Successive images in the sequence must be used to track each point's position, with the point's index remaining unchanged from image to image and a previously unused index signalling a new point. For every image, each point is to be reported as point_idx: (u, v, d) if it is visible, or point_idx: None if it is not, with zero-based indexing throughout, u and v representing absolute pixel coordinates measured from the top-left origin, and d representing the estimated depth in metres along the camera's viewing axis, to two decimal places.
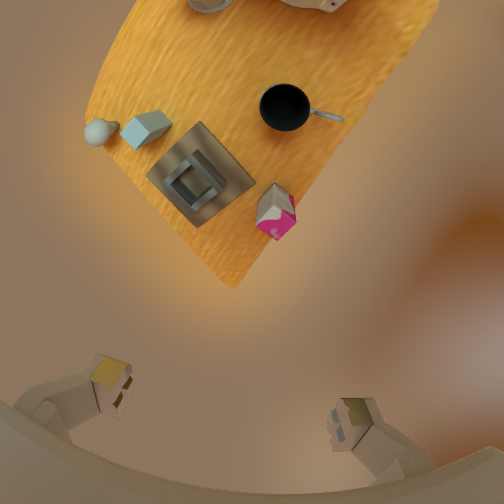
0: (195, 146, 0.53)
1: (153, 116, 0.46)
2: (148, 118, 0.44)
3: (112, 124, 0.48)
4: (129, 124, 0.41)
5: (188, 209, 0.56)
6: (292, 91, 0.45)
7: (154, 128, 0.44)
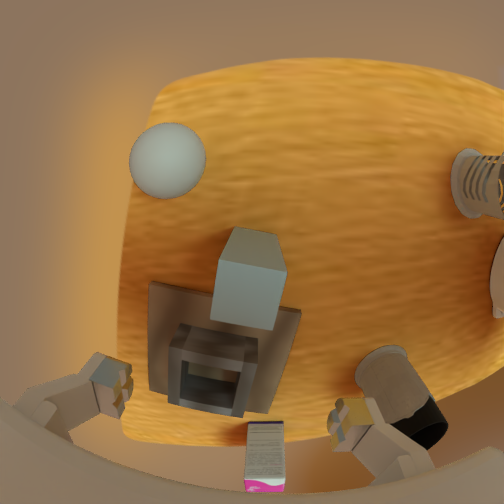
0: (259, 333, 0.31)
1: None
2: None
3: None
4: (260, 271, 0.18)
5: (172, 397, 0.29)
6: None
7: None
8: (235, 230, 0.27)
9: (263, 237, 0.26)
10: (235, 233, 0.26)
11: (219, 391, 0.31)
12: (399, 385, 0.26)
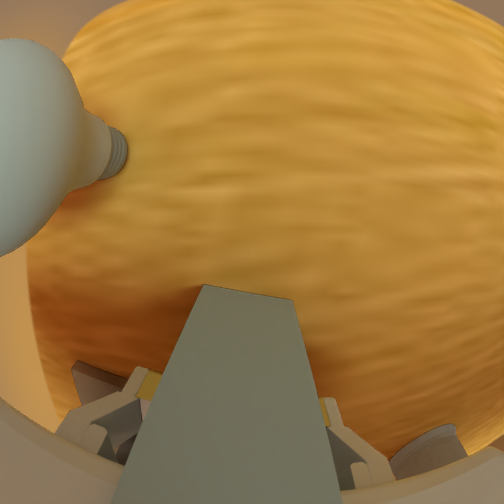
0: None
1: None
2: None
3: (97, 160, 0.08)
4: None
5: None
6: None
7: None
8: (200, 303, 0.11)
9: (265, 323, 0.11)
10: (197, 319, 0.10)
11: None
12: None
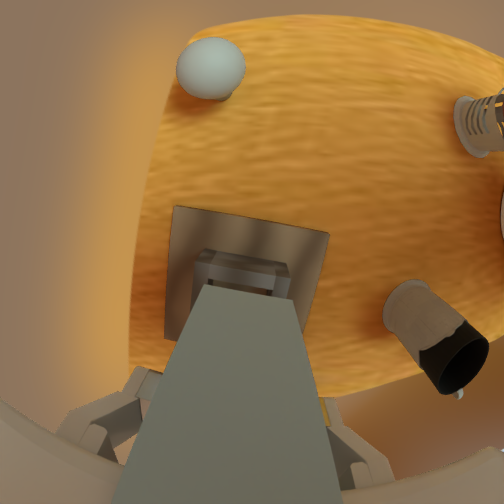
0: (288, 257, 0.31)
1: None
2: None
3: None
4: None
5: None
6: None
7: None
8: (200, 303, 0.11)
9: (266, 323, 0.11)
10: (197, 319, 0.10)
11: None
12: (433, 309, 0.25)
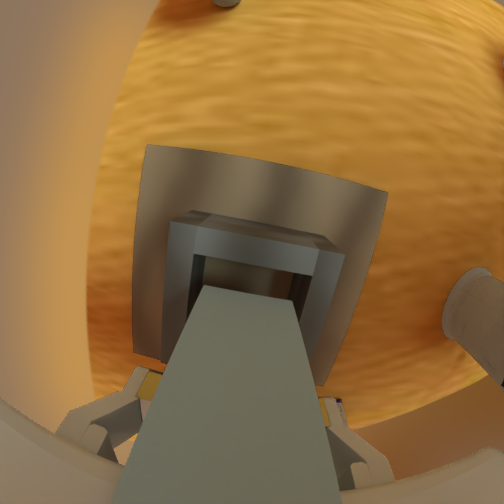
0: (327, 226, 0.19)
1: None
2: None
3: None
4: None
5: (169, 349, 0.16)
6: None
7: None
8: (200, 304, 0.11)
9: (265, 324, 0.11)
10: (197, 320, 0.10)
11: None
12: None
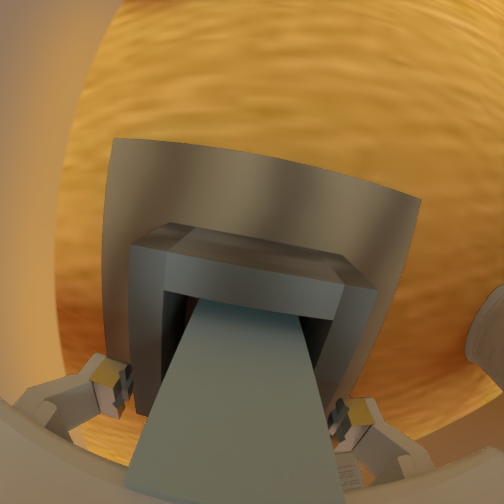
0: (346, 243, 0.14)
1: None
2: None
3: None
4: None
5: (144, 401, 0.11)
6: None
7: None
8: None
9: None
10: (205, 303, 0.12)
11: None
12: None
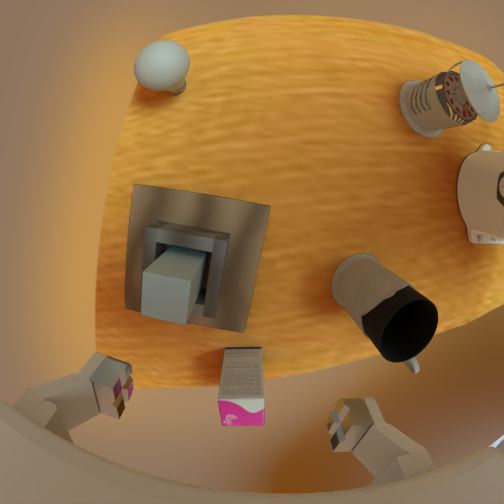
0: (232, 228, 0.34)
1: (201, 271, 0.30)
2: (197, 279, 0.27)
3: (182, 80, 0.27)
4: (171, 280, 0.23)
5: None
6: None
7: (191, 307, 0.27)
8: (173, 246, 0.32)
9: (193, 252, 0.32)
10: (171, 249, 0.31)
11: None
12: (375, 276, 0.29)
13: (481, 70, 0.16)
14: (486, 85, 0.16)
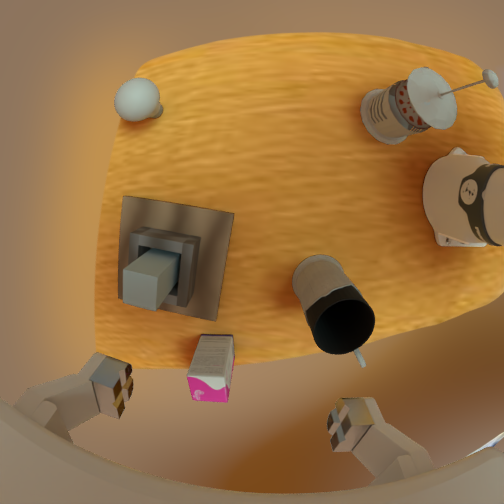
0: (202, 232, 0.40)
1: (173, 268, 0.36)
2: (167, 275, 0.34)
3: (157, 108, 0.33)
4: (144, 276, 0.29)
5: None
6: None
7: (163, 297, 0.33)
8: (153, 248, 0.39)
9: (169, 253, 0.38)
10: (151, 250, 0.38)
11: None
12: (322, 276, 0.35)
13: (433, 77, 0.21)
14: (436, 93, 0.21)
